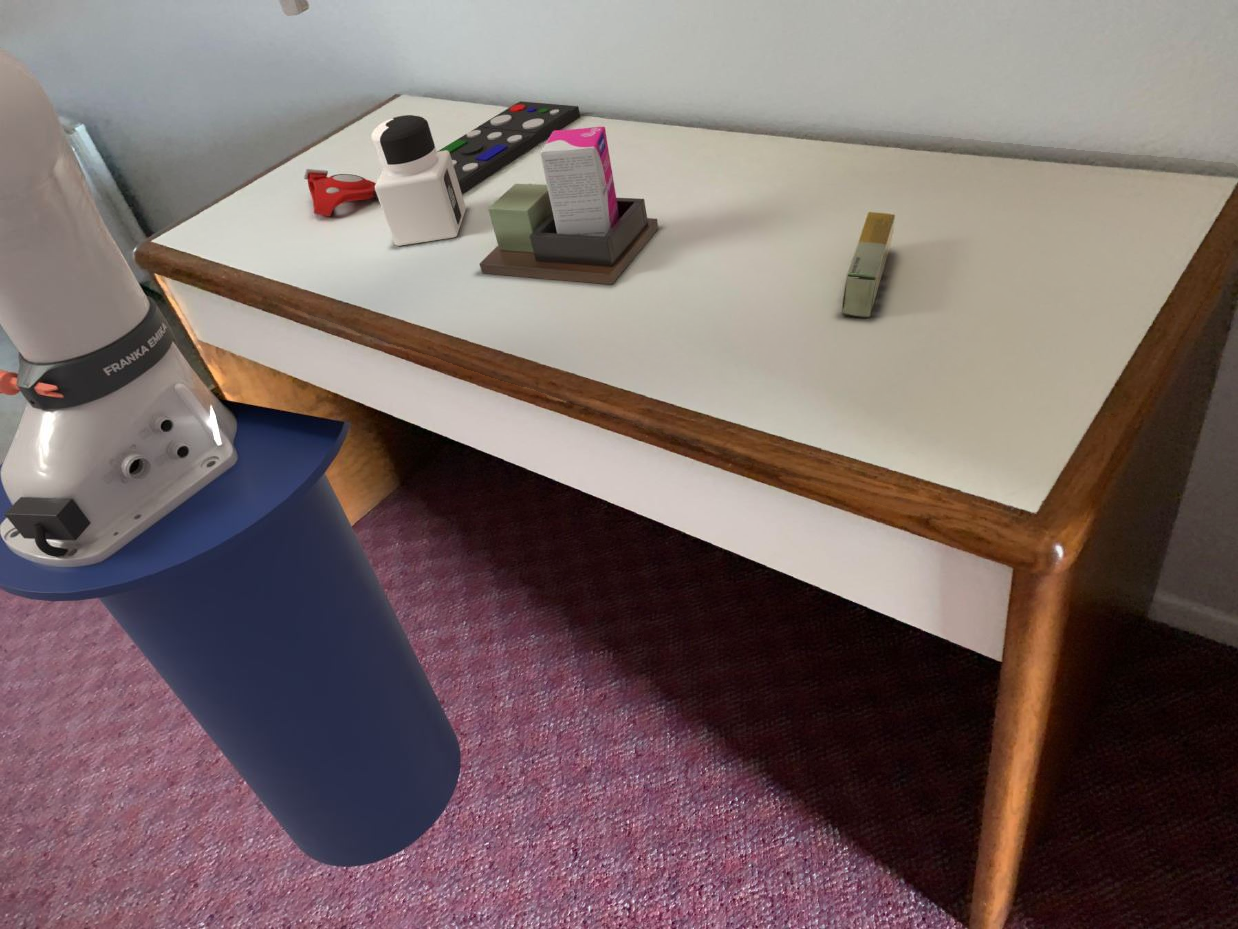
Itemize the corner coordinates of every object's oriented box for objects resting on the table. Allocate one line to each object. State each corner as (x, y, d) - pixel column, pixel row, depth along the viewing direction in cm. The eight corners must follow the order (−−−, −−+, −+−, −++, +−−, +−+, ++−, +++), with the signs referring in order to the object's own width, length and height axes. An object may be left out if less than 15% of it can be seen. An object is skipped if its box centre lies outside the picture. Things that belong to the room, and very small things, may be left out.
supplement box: (614, 253, 97) (594, 147, 90) (560, 257, 98) (535, 153, 91) (624, 227, 101) (605, 123, 94) (572, 231, 102) (549, 129, 95)
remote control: (580, 116, 133) (577, 102, 132) (435, 211, 116) (430, 196, 115) (522, 110, 139) (519, 97, 138) (376, 200, 122) (371, 186, 121)
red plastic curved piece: (391, 175, 125) (354, 190, 116) (391, 207, 127) (355, 225, 119) (309, 159, 127) (267, 173, 118) (311, 192, 129) (270, 208, 121)
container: (467, 209, 115) (436, 104, 107) (457, 237, 109) (424, 129, 101) (407, 218, 116) (372, 115, 108) (394, 247, 110) (356, 140, 102)
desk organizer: (612, 284, 94) (600, 228, 90) (482, 273, 101) (466, 221, 97) (658, 228, 102) (650, 174, 98) (534, 221, 109) (522, 171, 105)
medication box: (871, 319, 82) (876, 280, 79) (840, 315, 83) (844, 276, 80) (890, 249, 90) (896, 211, 87) (862, 246, 91) (866, 208, 88)
